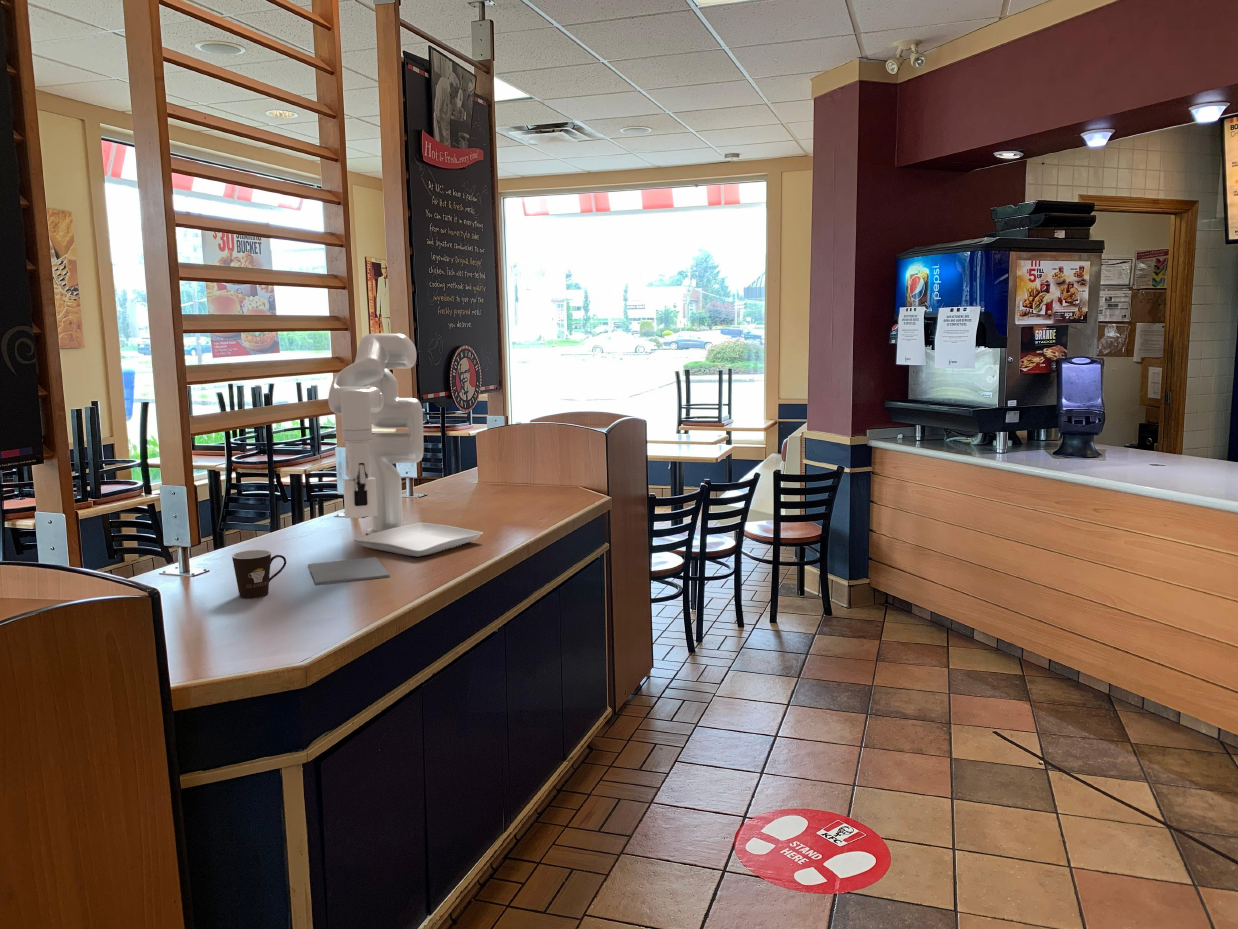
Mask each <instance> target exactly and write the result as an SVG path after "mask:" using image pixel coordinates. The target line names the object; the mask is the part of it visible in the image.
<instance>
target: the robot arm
mask: <svg viewBox="0 0 1238 929" xmlns="http://www.w3.org/2000/svg"><path fill="white" fill-rule="evenodd" d="M416 361H417V349H416V345H415V344H414V343H413V341H412V340H411V338H409V337H408V336H407V335H405V334H403V333H385V332H384V333H380V332H379V333H368V334H366V335H364V336H363V337H362V338H361V339H360V342H359V344H358V347H357V351H356V356H355V360H354V362H353V363H351V364H349V365H348V366H346V367H345V368H343V369H342V370H340V371H339V372H338V373H337V374H335V375H334V377H333V378H332V380H331V384H330V388H329V391H328V398H327V403H328V406H329V409H330V411H332V413H334V414H335V415H341V433H342V434H341V435H342V438H341V439H342V443H345V456H344V458H345V476H346V477H347V479H351V480H353V479H355V491H354V498H355V506H364V505H367V487H366V479H368V478H373V477H374V478H375V479H376V496H377V516H370V518H371V527H369V528H367V529H366V534H367V535H370V534H373V533H377V532H381V531H384V530H388V529H392V528H397V527H402V526H404V525H403V524H404V520H403V518H404V517H403V493H402V492H403V488H402V476H401V474H400V472H399V471H398V469H397V468H396V467H395V466H394V465H393V464H415V463H419V462H420V461H422V459H423V457H424V450H425V447H424V444H425V443H424V414H423V413H424V412H423V411H424V410H423V407H422V404H421V402H420V400H419V399H417V398H413V397H399V383H398V380H397V378H396V377H395V376H394V373H392V372H391V371H390V370H389V369H396V370H397V369H403V370H404V369H405V370H406V369H411V368H412V369H413V367H414V366H415V364H416ZM372 426H374V428H378V429H406V430H407V431H408V432H376V433H374V434H373V428H372ZM358 478H360V479H358Z"/></svg>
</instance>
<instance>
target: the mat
mask: <svg viewBox="0 0 1238 929" xmlns="http://www.w3.org/2000/svg"><path fill="white" fill-rule="evenodd" d="M307 566H308V569H309V572H310V574H311V575H312V578H313V580H314V582H315V585H316V586H317V585H318V586H320V585H328V584H335V583H336V584H337V583H345V582H346V583H347V582H355V581H364V580H372V579H382V578H390V573H389V572H388V571H387V569H386V568H385V566H384V565H383V564H382V562H380V560H379V558H377V556H373V557H372V556H371V557H366V558H364V557H363V558H355V559H345V560H332V561H324V562H315V563H314V562H313V563H307Z"/></svg>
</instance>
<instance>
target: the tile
mask: <svg viewBox="0 0 1238 929" xmlns="http://www.w3.org/2000/svg"><path fill="white" fill-rule="evenodd" d="M358 479H360V478H358ZM342 482H343V501H344V517H345V519H352V518H354V519H355V518H365V517H371V516H377V496H376V479H375V478H374V477H373V478H370V477H369V478H368V479H366V487H367V505H364V506H355V498H354V491H355V479H353V480H351V479H349V478H347V479H346V478H345V479H343V481H342Z"/></svg>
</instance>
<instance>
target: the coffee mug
mask: <svg viewBox="0 0 1238 929" xmlns="http://www.w3.org/2000/svg"><path fill="white" fill-rule="evenodd" d="M231 558H232V563H233V568H234V575H235V579H236V584H237V590H238V594H239V595H238V596H239V598H241V599H245V600H248V599H250V600H252V599H259V598H263V597H266V596H268V595H269V591H270V590H269V589H270V582H271V581H272V580H273V579H274V578H276V577H277V576H279V574H280V573H282V571H283V570H284V569H285V567H286V564H287V559H286V557H285V556H284V555H281V554H276V555H275V554H274V556H272V552H271V551H270V550H267V549H249V550H243V551H238V552H235V553H233V554H232V555H231ZM277 558H280V559H283V564H282V566H281V568H280V569H279V570H277V572H274V574H273V575H271V564H272V562H273V560H275V559H277ZM270 575H271V576H270Z"/></svg>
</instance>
